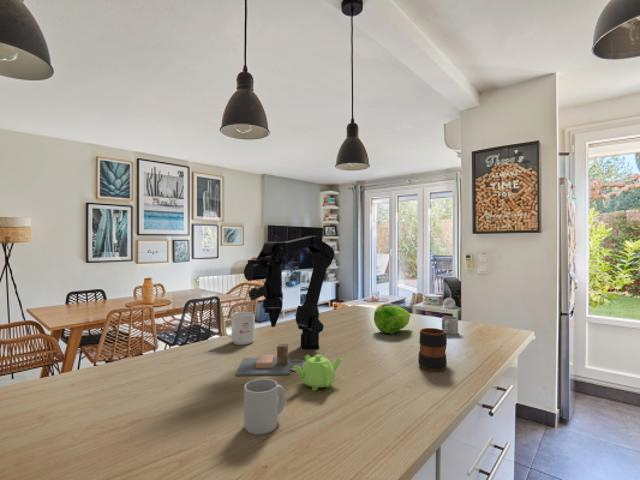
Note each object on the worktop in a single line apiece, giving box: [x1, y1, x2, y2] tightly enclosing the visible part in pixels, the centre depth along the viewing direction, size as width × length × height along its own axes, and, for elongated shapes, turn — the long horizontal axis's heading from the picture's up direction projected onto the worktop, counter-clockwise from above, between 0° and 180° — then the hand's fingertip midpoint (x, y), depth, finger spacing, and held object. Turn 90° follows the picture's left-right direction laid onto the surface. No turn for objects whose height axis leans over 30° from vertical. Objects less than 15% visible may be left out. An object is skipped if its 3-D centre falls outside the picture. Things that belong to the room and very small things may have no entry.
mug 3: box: [441, 315, 459, 336], centre depth 154 cm, size 10×7×7 cm, turn 144°
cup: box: [243, 378, 287, 436], centre depth 78 cm, size 7×10×9 cm
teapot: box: [293, 353, 342, 392], centre depth 99 cm, size 11×12×8 cm
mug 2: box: [417, 327, 448, 372], centre depth 114 cm, size 9×12×12 cm
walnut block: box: [276, 343, 289, 365], centre depth 114 cm, size 3×3×6 cm
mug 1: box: [223, 311, 256, 346], centre depth 139 cm, size 12×9×11 cm
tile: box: [256, 354, 275, 368], centre depth 113 cm, size 5×2×7 cm
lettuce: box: [373, 305, 411, 335], centre depth 157 cm, size 14×20×12 cm
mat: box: [235, 356, 292, 377], centre depth 112 cm, size 16×14×1 cm
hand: (273, 323), depth 121 cm, fingers open, 9 cm apart
